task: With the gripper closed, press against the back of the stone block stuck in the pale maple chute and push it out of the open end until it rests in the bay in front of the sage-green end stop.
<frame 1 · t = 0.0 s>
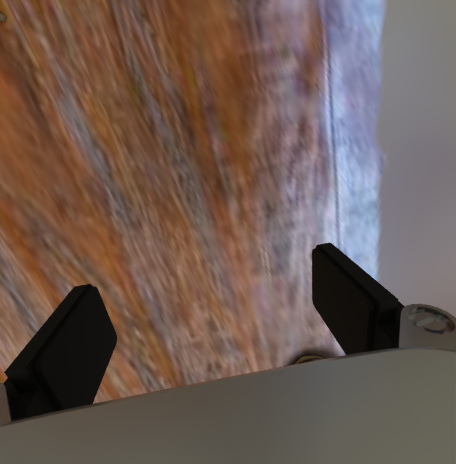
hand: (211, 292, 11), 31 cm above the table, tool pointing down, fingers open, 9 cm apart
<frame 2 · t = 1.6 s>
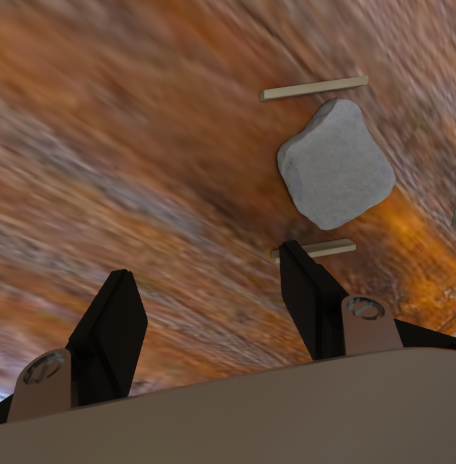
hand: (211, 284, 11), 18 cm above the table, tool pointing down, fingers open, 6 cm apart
stone block: (321, 171, 28), on the table
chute: (367, 169, 28), on the table
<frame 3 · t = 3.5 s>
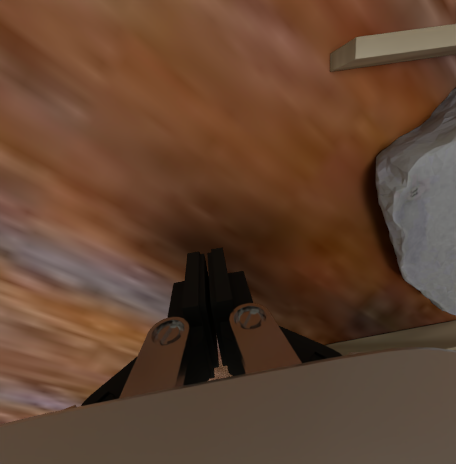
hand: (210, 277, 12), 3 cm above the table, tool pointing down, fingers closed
stone block: (441, 201, 15), on the table
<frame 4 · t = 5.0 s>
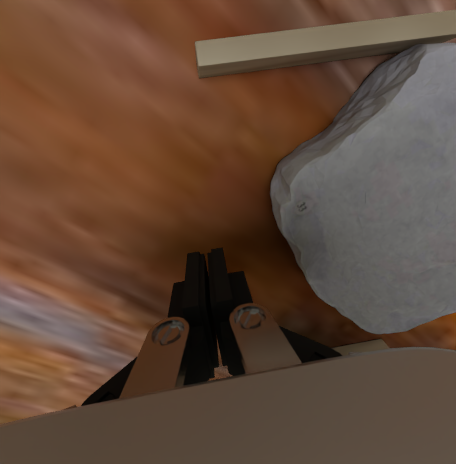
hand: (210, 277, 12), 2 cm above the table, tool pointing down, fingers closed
stone block: (361, 211, 14), on the table
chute: (431, 222, 14), on the table
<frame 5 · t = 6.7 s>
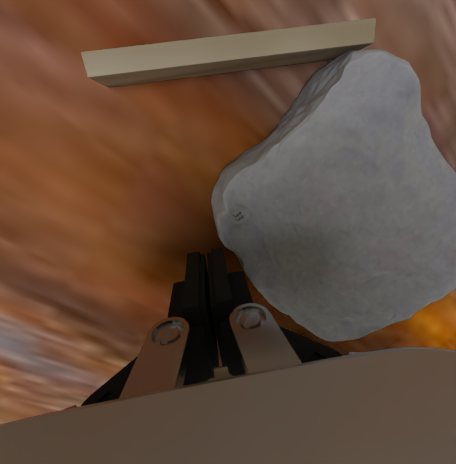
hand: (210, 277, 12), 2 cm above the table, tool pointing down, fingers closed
stone block: (315, 217, 14), on the table, touching gripper
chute: (368, 231, 14), on the table
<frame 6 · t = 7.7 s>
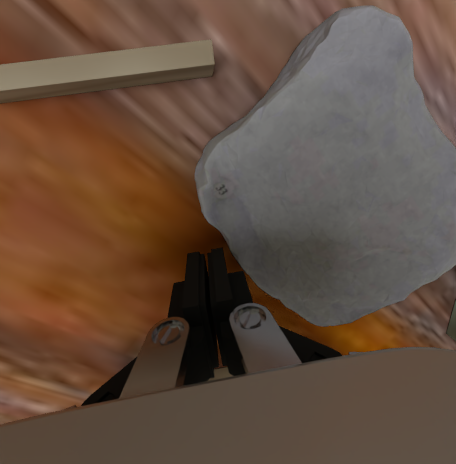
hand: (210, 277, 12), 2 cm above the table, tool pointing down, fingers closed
stone block: (307, 197, 13), on the table, touching gripper
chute: (270, 248, 14), on the table
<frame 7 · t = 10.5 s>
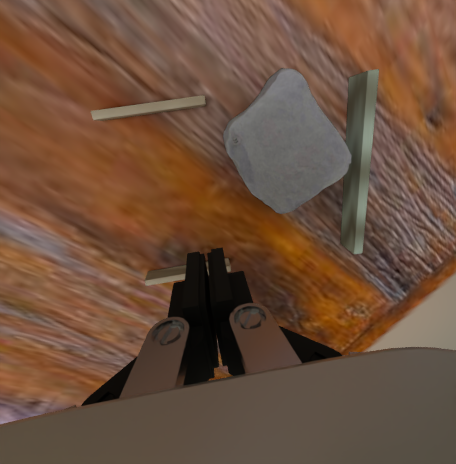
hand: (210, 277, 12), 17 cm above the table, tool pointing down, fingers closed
stone block: (276, 151, 27), on the table
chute: (235, 188, 27), on the table
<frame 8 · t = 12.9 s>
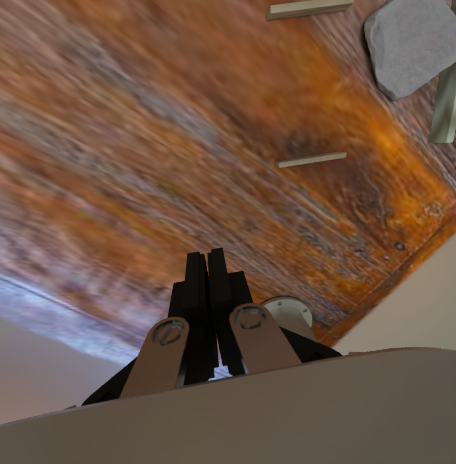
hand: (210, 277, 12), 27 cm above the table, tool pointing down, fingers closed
stone block: (394, 49, 33), on the table
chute: (355, 85, 34), on the table
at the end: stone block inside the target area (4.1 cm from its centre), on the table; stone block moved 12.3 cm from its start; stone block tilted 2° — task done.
